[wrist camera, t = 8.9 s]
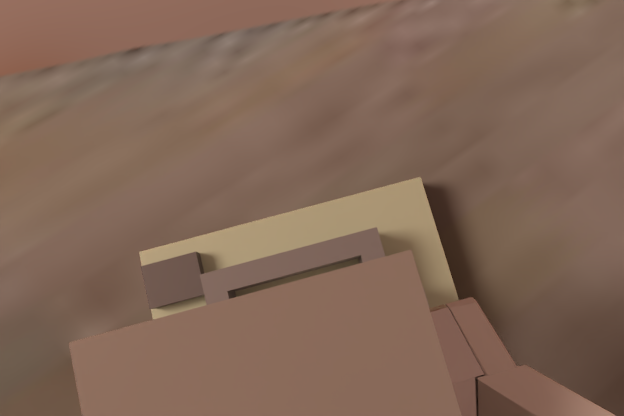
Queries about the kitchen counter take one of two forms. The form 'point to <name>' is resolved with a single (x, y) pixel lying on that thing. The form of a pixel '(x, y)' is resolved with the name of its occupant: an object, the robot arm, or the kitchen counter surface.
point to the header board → (300, 250)
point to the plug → (279, 353)
